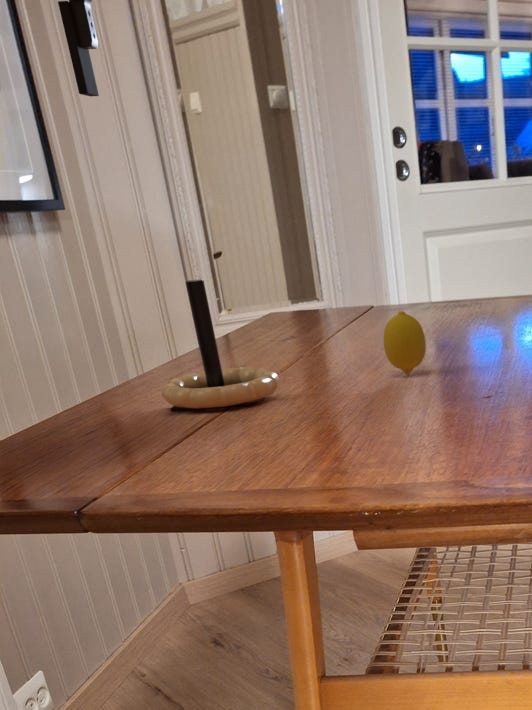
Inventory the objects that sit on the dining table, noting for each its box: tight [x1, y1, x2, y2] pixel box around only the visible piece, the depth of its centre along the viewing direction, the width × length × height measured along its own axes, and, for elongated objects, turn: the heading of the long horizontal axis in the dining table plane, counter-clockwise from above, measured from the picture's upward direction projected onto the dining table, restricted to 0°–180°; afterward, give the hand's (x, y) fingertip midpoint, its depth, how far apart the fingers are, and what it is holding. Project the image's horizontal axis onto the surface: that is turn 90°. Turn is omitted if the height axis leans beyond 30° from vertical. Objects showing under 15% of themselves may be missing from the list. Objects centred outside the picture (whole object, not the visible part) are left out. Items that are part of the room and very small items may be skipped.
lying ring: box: [160, 367, 281, 408], centre depth 104 cm, size 13×13×2 cm
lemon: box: [383, 310, 427, 375], centre depth 114 cm, size 6×6×8 cm
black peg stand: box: [170, 278, 266, 413], centre depth 101 cm, size 9×9×14 cm
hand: (11, 100), depth 76 cm, fingers open, 13 cm apart
